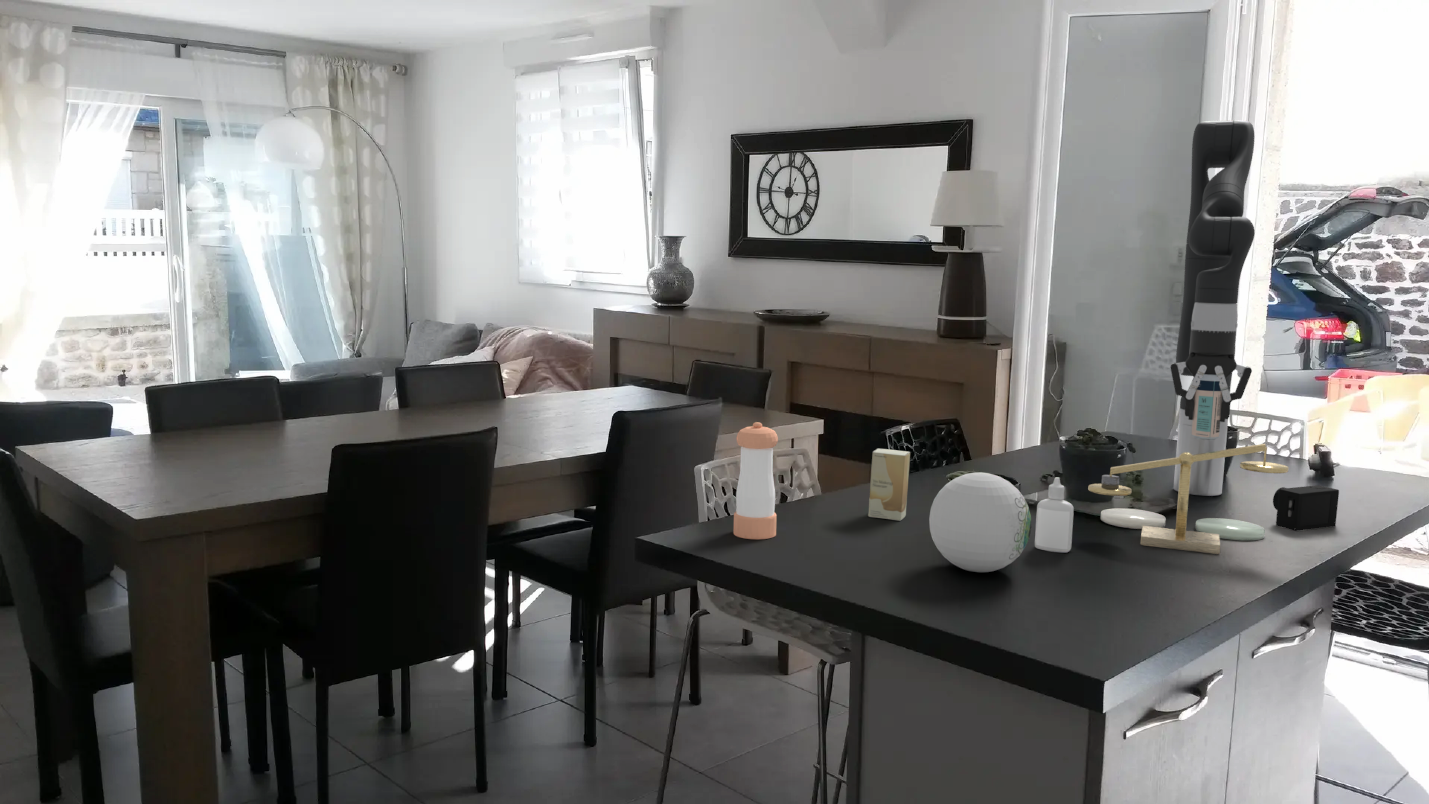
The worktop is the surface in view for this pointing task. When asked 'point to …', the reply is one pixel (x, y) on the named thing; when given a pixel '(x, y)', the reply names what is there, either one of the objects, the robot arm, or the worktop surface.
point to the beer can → (1207, 408)
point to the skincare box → (889, 484)
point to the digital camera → (1306, 507)
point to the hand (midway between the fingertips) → (1206, 419)
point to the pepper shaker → (756, 484)
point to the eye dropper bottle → (1054, 521)
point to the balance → (1182, 497)
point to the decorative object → (980, 522)
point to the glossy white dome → (1132, 518)
